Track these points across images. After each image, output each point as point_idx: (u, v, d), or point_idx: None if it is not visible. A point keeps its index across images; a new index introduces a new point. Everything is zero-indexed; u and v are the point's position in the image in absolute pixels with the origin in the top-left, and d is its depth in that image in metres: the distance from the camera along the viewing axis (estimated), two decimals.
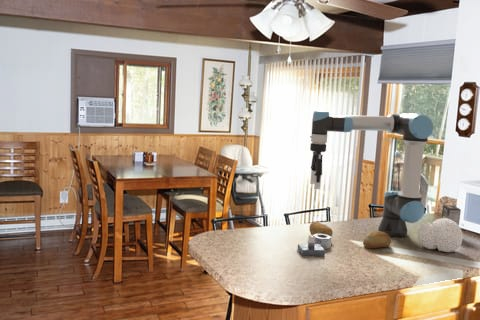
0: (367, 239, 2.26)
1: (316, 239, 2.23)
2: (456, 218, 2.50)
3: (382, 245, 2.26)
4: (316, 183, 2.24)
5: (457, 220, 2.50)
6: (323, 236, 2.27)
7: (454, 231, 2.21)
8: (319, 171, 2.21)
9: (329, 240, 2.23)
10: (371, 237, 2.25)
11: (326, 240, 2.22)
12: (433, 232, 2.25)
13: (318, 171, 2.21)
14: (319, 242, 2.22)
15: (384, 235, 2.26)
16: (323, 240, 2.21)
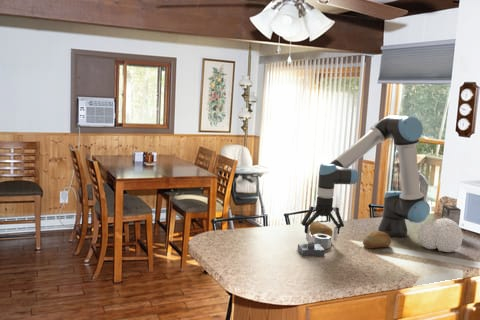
0: (367, 239, 2.26)
1: (316, 239, 2.23)
2: (456, 218, 2.50)
3: (382, 245, 2.26)
4: (306, 234, 2.25)
5: (457, 220, 2.50)
6: (323, 236, 2.27)
7: (454, 231, 2.21)
8: (303, 221, 2.23)
9: (329, 240, 2.23)
10: (371, 237, 2.25)
11: (326, 240, 2.22)
12: (433, 232, 2.25)
13: (302, 221, 2.24)
14: (319, 242, 2.22)
15: (384, 235, 2.26)
16: (323, 240, 2.21)
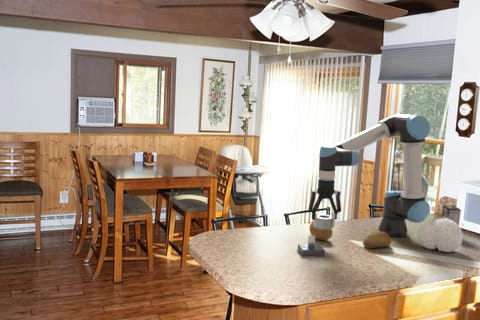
0: (367, 239, 2.26)
1: (318, 219, 2.22)
2: (456, 218, 2.50)
3: (382, 245, 2.26)
4: (314, 220, 2.24)
5: (457, 220, 2.50)
6: (325, 216, 2.26)
7: (454, 231, 2.21)
8: (309, 208, 2.23)
9: (331, 220, 2.22)
10: (371, 237, 2.25)
11: (328, 220, 2.21)
12: (433, 232, 2.25)
13: (309, 208, 2.23)
14: (321, 222, 2.21)
15: (384, 235, 2.26)
16: (325, 220, 2.20)
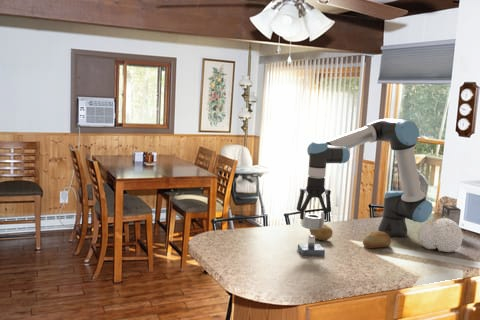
0: (367, 239, 2.26)
1: (307, 219, 2.10)
2: (456, 218, 2.50)
3: (382, 245, 2.26)
4: (302, 220, 2.13)
5: (457, 220, 2.50)
6: (314, 216, 2.15)
7: (454, 231, 2.21)
8: (297, 207, 2.11)
9: (320, 220, 2.11)
10: (371, 237, 2.26)
11: (317, 220, 2.09)
12: (433, 232, 2.25)
13: (297, 206, 2.12)
14: (310, 222, 2.09)
15: (384, 235, 2.26)
16: (314, 220, 2.09)
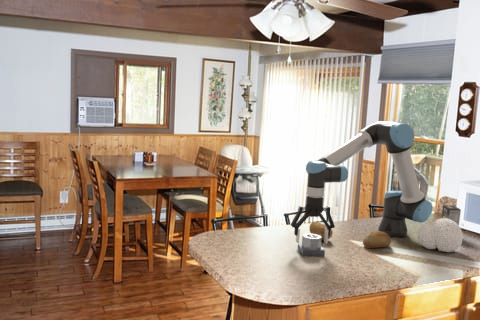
0: (367, 239, 2.26)
1: (306, 239, 2.12)
2: (456, 218, 2.50)
3: (382, 245, 2.26)
4: (296, 236, 2.14)
5: (457, 220, 2.50)
6: None
7: (454, 231, 2.21)
8: (292, 223, 2.12)
9: (319, 240, 2.12)
10: (371, 237, 2.26)
11: (316, 240, 2.10)
12: (433, 232, 2.25)
13: (292, 222, 2.12)
14: (309, 242, 2.11)
15: (384, 235, 2.26)
16: (313, 240, 2.10)
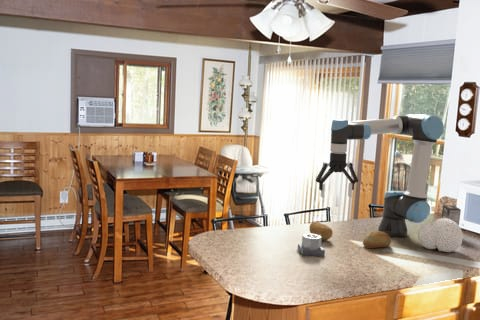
0: (367, 239, 2.26)
1: (306, 239, 2.12)
2: (456, 218, 2.50)
3: (382, 245, 2.26)
4: (321, 191, 2.24)
5: (457, 220, 2.50)
6: None
7: (454, 231, 2.21)
8: (317, 178, 2.22)
9: (319, 240, 2.12)
10: (371, 237, 2.26)
11: (316, 240, 2.10)
12: (433, 232, 2.25)
13: (317, 178, 2.23)
14: (309, 242, 2.11)
15: (384, 235, 2.26)
16: (313, 240, 2.10)
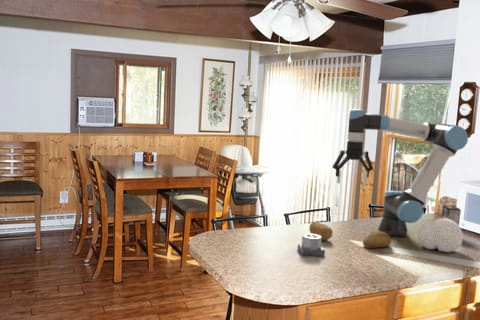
0: (367, 239, 2.26)
1: (306, 239, 2.12)
2: (456, 218, 2.50)
3: (382, 245, 2.26)
4: (337, 177, 2.35)
5: (457, 220, 2.50)
6: None
7: (454, 231, 2.21)
8: (334, 165, 2.34)
9: (319, 240, 2.12)
10: (371, 237, 2.26)
11: (316, 240, 2.10)
12: (433, 232, 2.25)
13: (334, 165, 2.34)
14: (309, 242, 2.11)
15: (384, 235, 2.26)
16: (313, 240, 2.10)
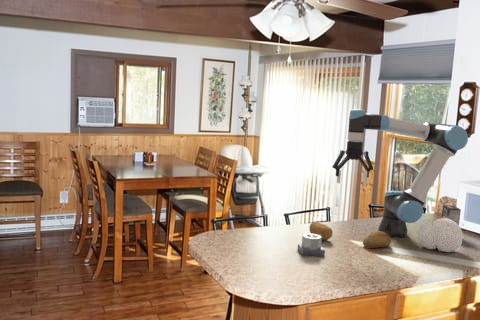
0: (367, 239, 2.26)
1: (306, 239, 2.12)
2: (456, 218, 2.50)
3: (382, 245, 2.26)
4: (337, 177, 2.35)
5: (457, 220, 2.50)
6: None
7: (454, 231, 2.21)
8: (334, 165, 2.34)
9: (319, 240, 2.12)
10: (371, 237, 2.26)
11: (316, 240, 2.10)
12: (433, 232, 2.25)
13: (333, 165, 2.34)
14: (309, 242, 2.11)
15: (384, 235, 2.26)
16: (313, 240, 2.10)
